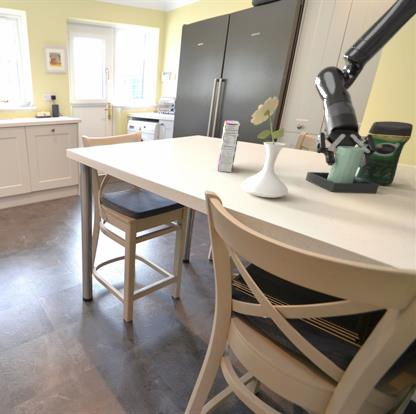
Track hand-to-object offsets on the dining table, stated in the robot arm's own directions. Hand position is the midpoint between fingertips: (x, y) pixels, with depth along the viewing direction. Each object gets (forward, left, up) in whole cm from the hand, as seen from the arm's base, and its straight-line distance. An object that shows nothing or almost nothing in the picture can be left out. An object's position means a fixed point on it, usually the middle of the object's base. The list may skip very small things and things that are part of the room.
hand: (348, 165), depth 82 cm
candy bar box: (+28, -19, -7) cm, 35 cm away
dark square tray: (0, -1, -7) cm, 7 cm away
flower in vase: (+28, +9, -7) cm, 30 cm away
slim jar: (0, -1, -6) cm, 6 cm away
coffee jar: (-15, -8, -7) cm, 18 cm away
